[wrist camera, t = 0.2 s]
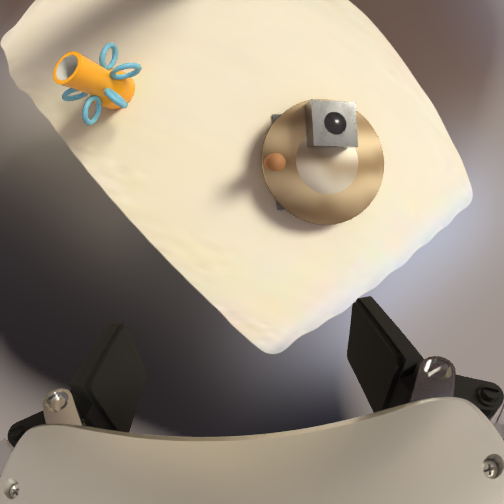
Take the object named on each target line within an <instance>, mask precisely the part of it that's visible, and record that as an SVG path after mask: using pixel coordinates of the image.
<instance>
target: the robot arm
mask: <svg viewBox="0 0 504 504" xmlns="http://www.w3.org/2000/svg"><path fill="white" fill-rule="evenodd" d="M347 357H348V361H349V363H350V365H351V367H352V369H353V371H354V373H355V375H356V377H357V379H358V381H359V383H360V385H361V387H362V389H363V391H364V393H365V395H366V397H367V399H368V402H369V404H370V406H371V408H372V409H373V412H374V413H372V414H368V415H365V416H360V417H357V418H353V419H348V420H344V421H340V422H336V423H331V424H327V425H321V426H316V427H311V428H305V429H299V430H293V431H286V432H278V433H271V434H261V435H249V436H233V437H172V436H156V435H144V434H136V433H129V431H130V428H131V424H132V421H133V418H134V415H135V411H136V409H137V406H138V403H139V400H140V397H141V394H142V391H143V388H144V385H145V382H146V379H147V374H146V371H145V368H144V366H143V364H142V361H141V359H140V356H139V354H138V352H137V349H136V347H135V344H134V342H133V339H132V336H131V334H130V331H129V328H128V327H127V326H126V325H124V323H122V322H110V323H109V324H108V325H107V327H106V328H105V330H104V331H103V333H102V334H101V336H100V337H99V339H98V340H97V342H96V343H95V345H94V346H93V348H92V349H91V351H90V352H89V354H88V355H87V357H86V359H85V360H84V362H83V363H82V365H81V367H80V368H79V370H78V372H77V373H76V375H75V376H74V378H73V380H72V381H71V383H70V386H71V388H72V389H71V391H68V390H66V389H56V390H53V391H52V392H50V393H49V394H48V395H47V396H46V397H45V398H44V401H43V411H41V412H39V413H37V414H34V415H32V416H30V417H28V418H26V419H24V420H21V421H19V422H17V423H15V424H13V425H12V426H11V428H10V430H9V432H8V440H6V439H5V438H4V439H3V440H2V441H1V442H0V504H504V394H503V392H502V390H501V388H500V387H499V386H498V385H496V384H495V383H492V382H487V381H483V380H478V379H473V378H469V377H464V376H460V375H456V372H455V367H454V365H453V364H452V363H451V362H450V361H449V360H448V359H446V358H443V357H440V356H432V357H428V358H426V359H423V357H422V356H421V355H420V354H419V352H418V351H417V350H416V349H415V347H414V346H413V345H412V344H411V342H410V341H409V340H408V339H407V338H406V336H405V335H404V334H403V333H402V332H401V330H400V329H399V328H398V327H397V326H396V325H395V323H394V322H393V321H392V320H391V319H390V318H389V316H388V315H387V314H386V313H385V312H384V311H383V309H382V308H381V307H380V306H379V305H378V304H377V303H376V301H375V300H374V299H373V298H372V297H371V296H369V297H363V298H358V299H357V300H356V302H355V303H353V306H352V315H351V325H350V334H349V342H348V350H347Z"/></svg>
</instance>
